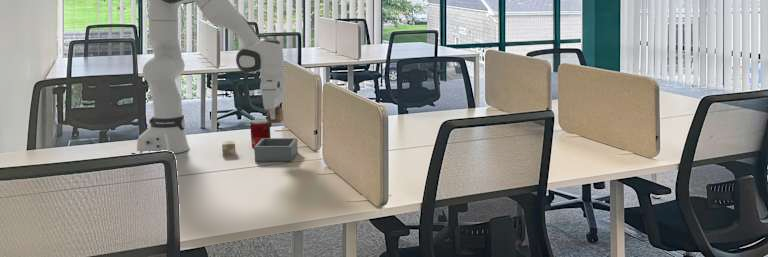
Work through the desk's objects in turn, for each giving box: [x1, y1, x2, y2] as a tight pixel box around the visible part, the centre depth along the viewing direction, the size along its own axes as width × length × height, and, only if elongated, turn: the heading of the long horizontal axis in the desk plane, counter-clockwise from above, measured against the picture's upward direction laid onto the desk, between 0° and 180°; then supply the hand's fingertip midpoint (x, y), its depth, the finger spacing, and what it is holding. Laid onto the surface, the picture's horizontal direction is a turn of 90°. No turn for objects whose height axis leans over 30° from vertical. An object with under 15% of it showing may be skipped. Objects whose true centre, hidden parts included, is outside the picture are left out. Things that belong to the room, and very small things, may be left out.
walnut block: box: [266, 106, 284, 124], centre depth 275 cm, size 5×5×5 cm
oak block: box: [221, 140, 237, 158], centre depth 284 cm, size 5×5×5 cm
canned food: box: [250, 118, 271, 149], centre depth 295 cm, size 8×8×11 cm
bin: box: [253, 137, 299, 163], centre depth 278 cm, size 14×14×6 cm
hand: (274, 117), depth 275 cm, fingers closed on walnut block, 5 cm apart
